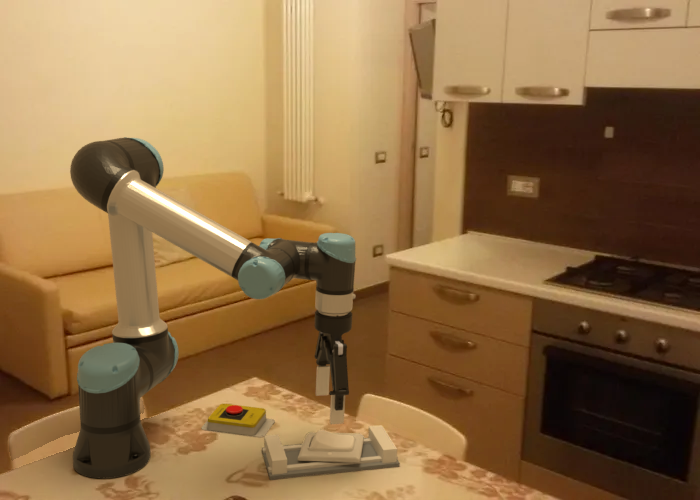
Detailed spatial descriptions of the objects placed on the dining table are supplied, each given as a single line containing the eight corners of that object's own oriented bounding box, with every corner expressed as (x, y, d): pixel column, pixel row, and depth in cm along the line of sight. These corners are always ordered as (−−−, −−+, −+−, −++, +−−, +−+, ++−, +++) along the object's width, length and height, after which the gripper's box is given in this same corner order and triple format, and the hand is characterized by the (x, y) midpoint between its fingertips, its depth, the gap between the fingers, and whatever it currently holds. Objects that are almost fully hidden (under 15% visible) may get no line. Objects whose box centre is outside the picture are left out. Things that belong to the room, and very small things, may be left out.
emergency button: (215, 397, 175) (276, 404, 172) (215, 414, 176) (276, 422, 173) (199, 413, 166) (263, 421, 164) (199, 431, 167) (263, 440, 164)
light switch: (305, 421, 162) (364, 423, 161) (306, 439, 163) (364, 440, 162) (296, 445, 152) (359, 446, 150) (297, 463, 152) (359, 465, 151)
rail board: (269, 479, 147) (270, 462, 146) (261, 450, 159) (261, 434, 158) (399, 466, 154) (400, 449, 153) (382, 439, 165) (383, 423, 165)
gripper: (368, 330, 138) (362, 435, 143) (337, 292, 162) (333, 383, 167) (329, 332, 136) (324, 437, 141) (303, 293, 160) (300, 385, 165)
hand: (329, 408), depth 154 cm, fingers open, 13 cm apart
